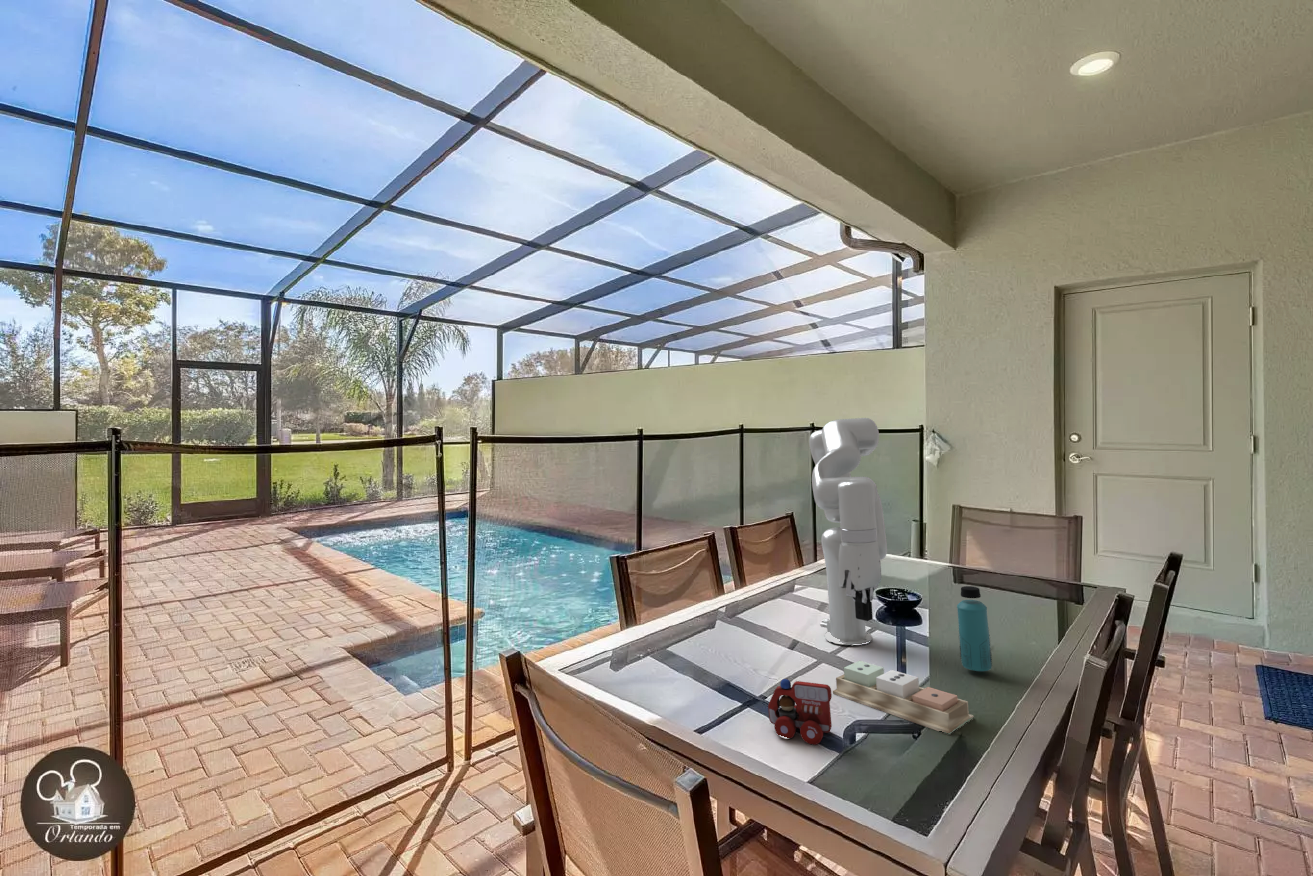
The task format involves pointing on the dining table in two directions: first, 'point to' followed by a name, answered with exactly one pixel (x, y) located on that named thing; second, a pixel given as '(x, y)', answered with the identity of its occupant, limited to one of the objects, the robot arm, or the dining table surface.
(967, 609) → the beverage bottle
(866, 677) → the two dot tile
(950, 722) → the tile board
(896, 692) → the three dot tile
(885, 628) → the dining table surface
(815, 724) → the toy fire truck
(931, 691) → the one dot tile
